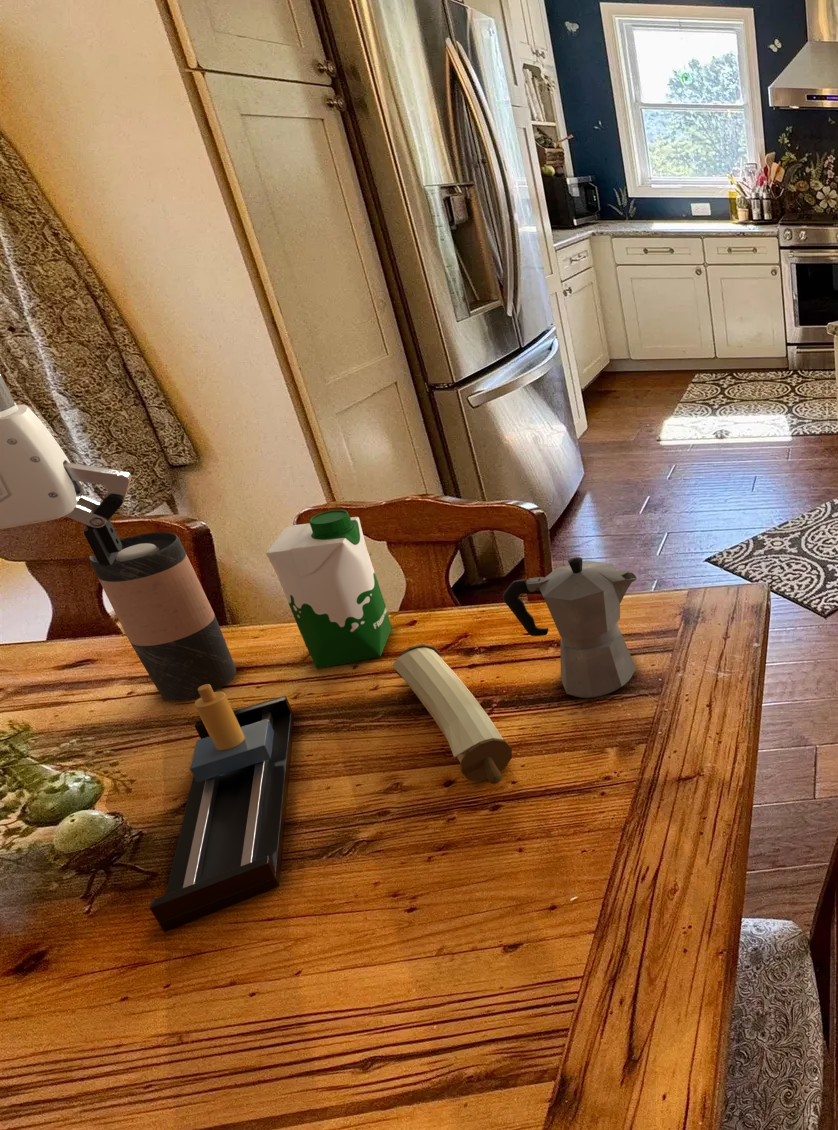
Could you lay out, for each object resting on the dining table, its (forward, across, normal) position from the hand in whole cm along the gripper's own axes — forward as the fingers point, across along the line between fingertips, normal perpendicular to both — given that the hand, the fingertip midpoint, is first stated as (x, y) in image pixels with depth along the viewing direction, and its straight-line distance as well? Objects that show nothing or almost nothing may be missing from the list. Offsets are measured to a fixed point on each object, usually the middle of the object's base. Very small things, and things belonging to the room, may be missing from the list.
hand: (38, 573), depth 72 cm
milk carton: (+26, +18, +16) cm, 36 cm away
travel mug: (+26, +2, +18) cm, 32 cm away
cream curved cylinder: (+26, +28, -8) cm, 39 cm away
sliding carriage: (+24, +8, -4) cm, 26 cm away
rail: (+26, +8, -10) cm, 29 cm away
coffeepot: (+26, +43, -8) cm, 51 cm away
